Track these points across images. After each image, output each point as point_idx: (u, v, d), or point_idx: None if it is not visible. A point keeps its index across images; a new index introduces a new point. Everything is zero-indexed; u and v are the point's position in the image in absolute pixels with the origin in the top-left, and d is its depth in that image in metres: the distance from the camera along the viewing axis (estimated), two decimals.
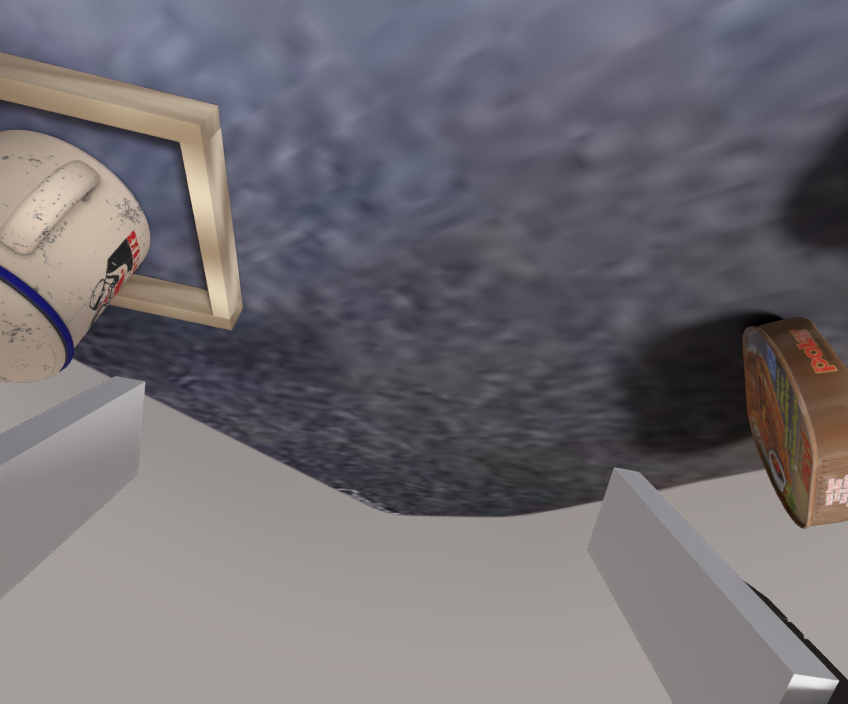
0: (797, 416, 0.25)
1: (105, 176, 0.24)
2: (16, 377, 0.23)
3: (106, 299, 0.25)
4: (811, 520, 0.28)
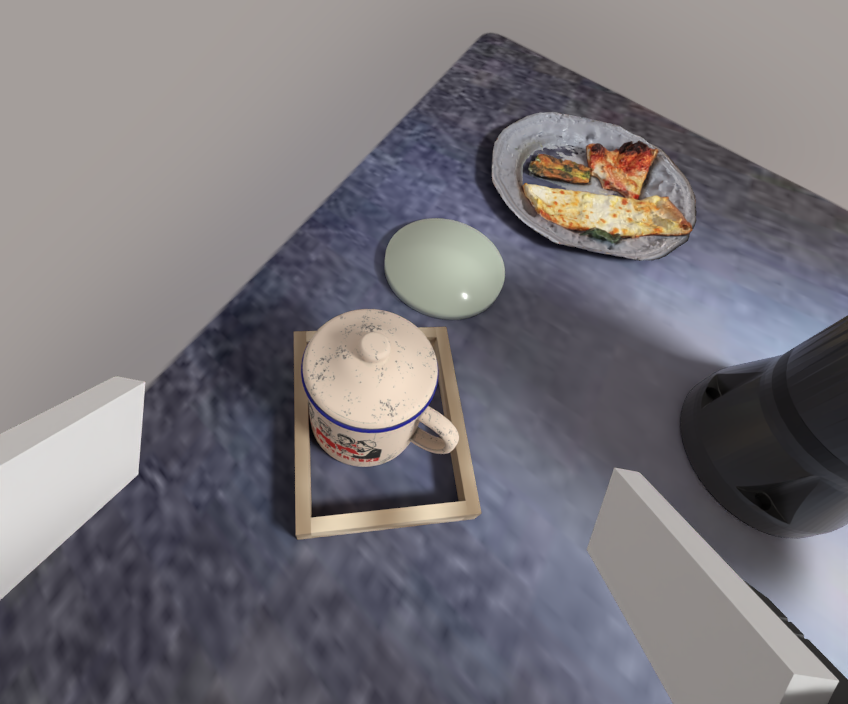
0: None
1: (406, 446, 0.38)
2: (325, 387, 0.30)
3: (353, 445, 0.33)
4: None
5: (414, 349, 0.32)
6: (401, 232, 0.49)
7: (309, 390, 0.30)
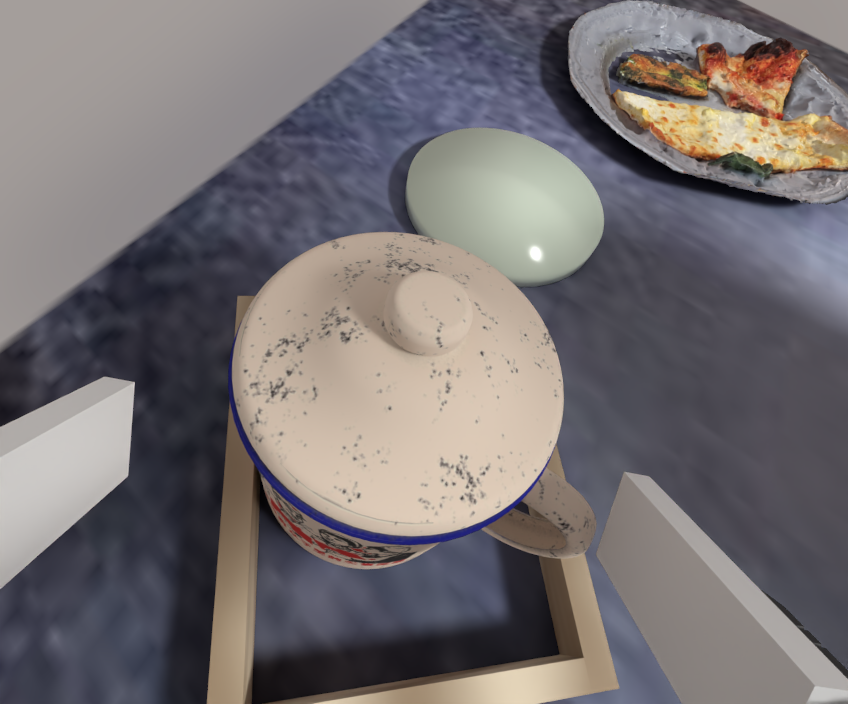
0: None
1: None
2: (291, 420, 0.11)
3: (356, 549, 0.14)
4: None
5: (514, 325, 0.13)
6: (434, 144, 0.30)
7: (246, 426, 0.11)
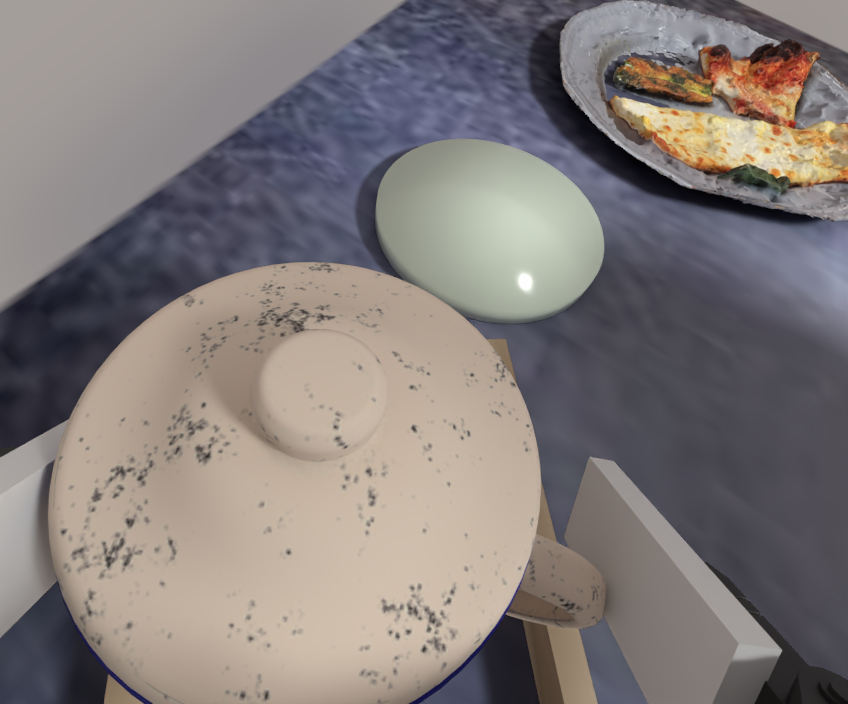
0: None
1: None
2: (143, 599, 0.07)
3: None
4: None
5: (454, 366, 0.10)
6: (408, 158, 0.26)
7: (76, 620, 0.07)
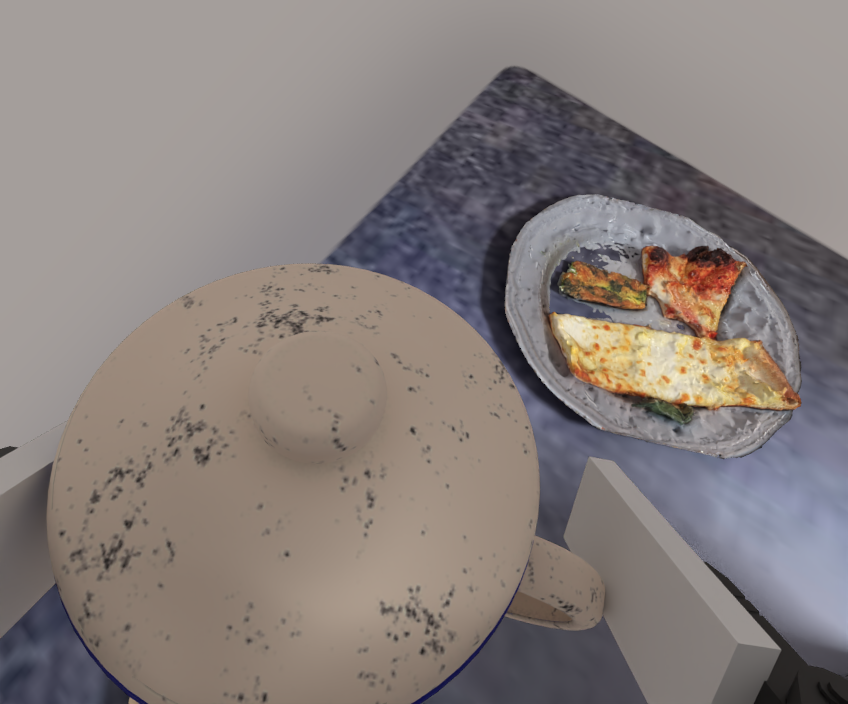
0: None
1: None
2: (141, 601, 0.07)
3: None
4: None
5: (453, 368, 0.10)
6: None
7: (75, 622, 0.07)
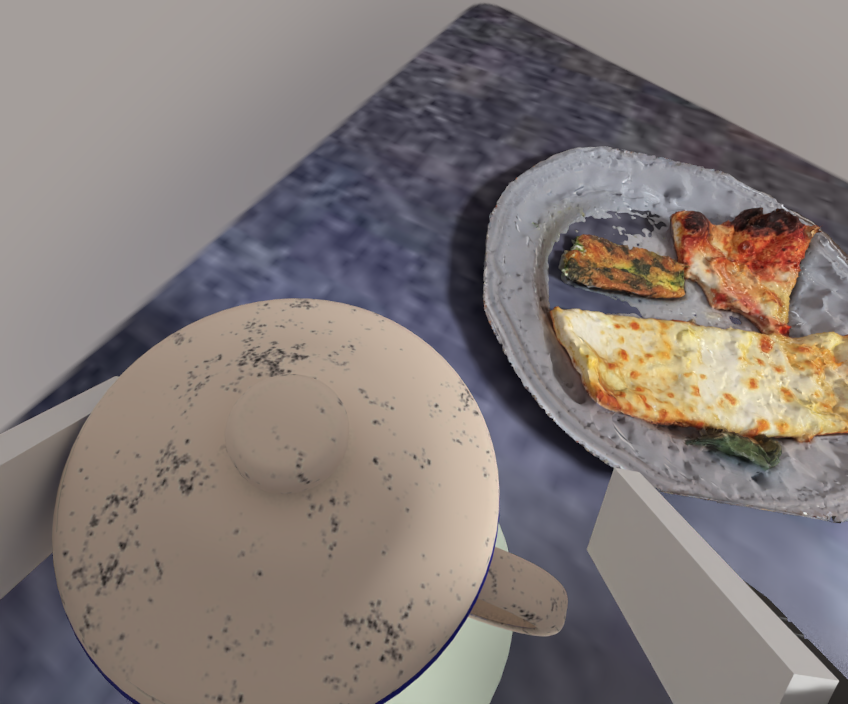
0: None
1: None
2: (133, 614, 0.08)
3: None
4: None
5: (419, 398, 0.10)
6: None
7: (76, 631, 0.08)
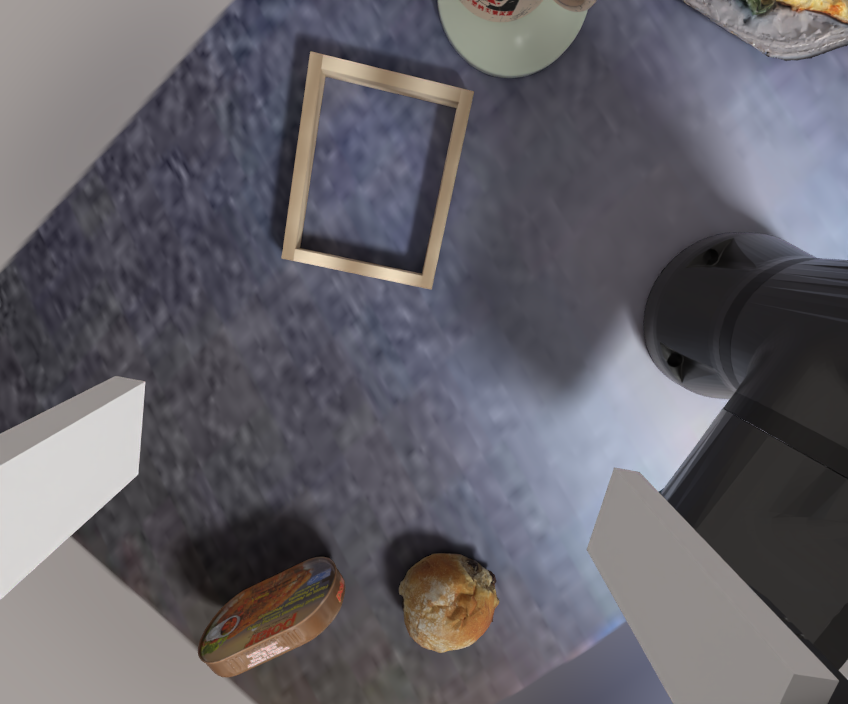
0: (302, 605, 0.45)
1: (540, 2, 0.37)
2: None
3: None
4: (227, 659, 0.43)
5: None
6: None
7: None
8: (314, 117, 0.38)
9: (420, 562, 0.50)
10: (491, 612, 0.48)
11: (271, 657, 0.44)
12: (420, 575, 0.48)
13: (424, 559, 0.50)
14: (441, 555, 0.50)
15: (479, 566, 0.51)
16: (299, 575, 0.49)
